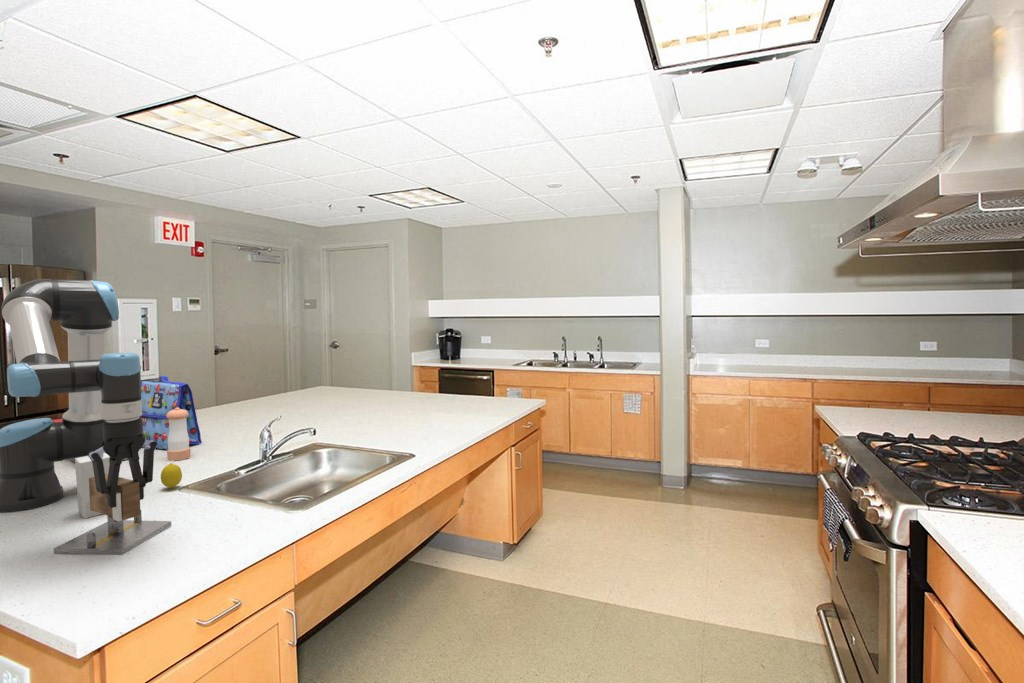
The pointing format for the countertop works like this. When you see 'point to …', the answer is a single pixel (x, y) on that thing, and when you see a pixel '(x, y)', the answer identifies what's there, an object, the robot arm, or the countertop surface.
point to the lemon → (171, 475)
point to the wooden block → (128, 498)
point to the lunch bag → (166, 410)
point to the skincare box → (86, 482)
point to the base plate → (113, 537)
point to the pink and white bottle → (178, 435)
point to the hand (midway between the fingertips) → (126, 516)
